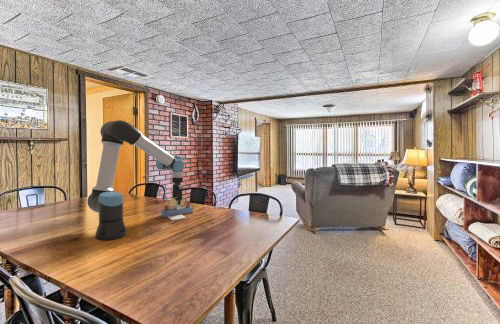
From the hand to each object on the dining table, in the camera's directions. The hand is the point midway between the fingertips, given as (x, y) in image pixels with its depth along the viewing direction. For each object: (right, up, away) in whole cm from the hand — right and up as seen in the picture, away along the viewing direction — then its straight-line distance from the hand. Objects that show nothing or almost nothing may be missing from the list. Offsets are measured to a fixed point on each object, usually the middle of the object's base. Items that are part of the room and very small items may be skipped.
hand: (176, 208), depth 186 cm
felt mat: (+3, -5, -10) cm, 11 cm away
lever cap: (0, +3, 0) cm, 3 cm away
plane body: (0, -4, +1) cm, 4 cm away
